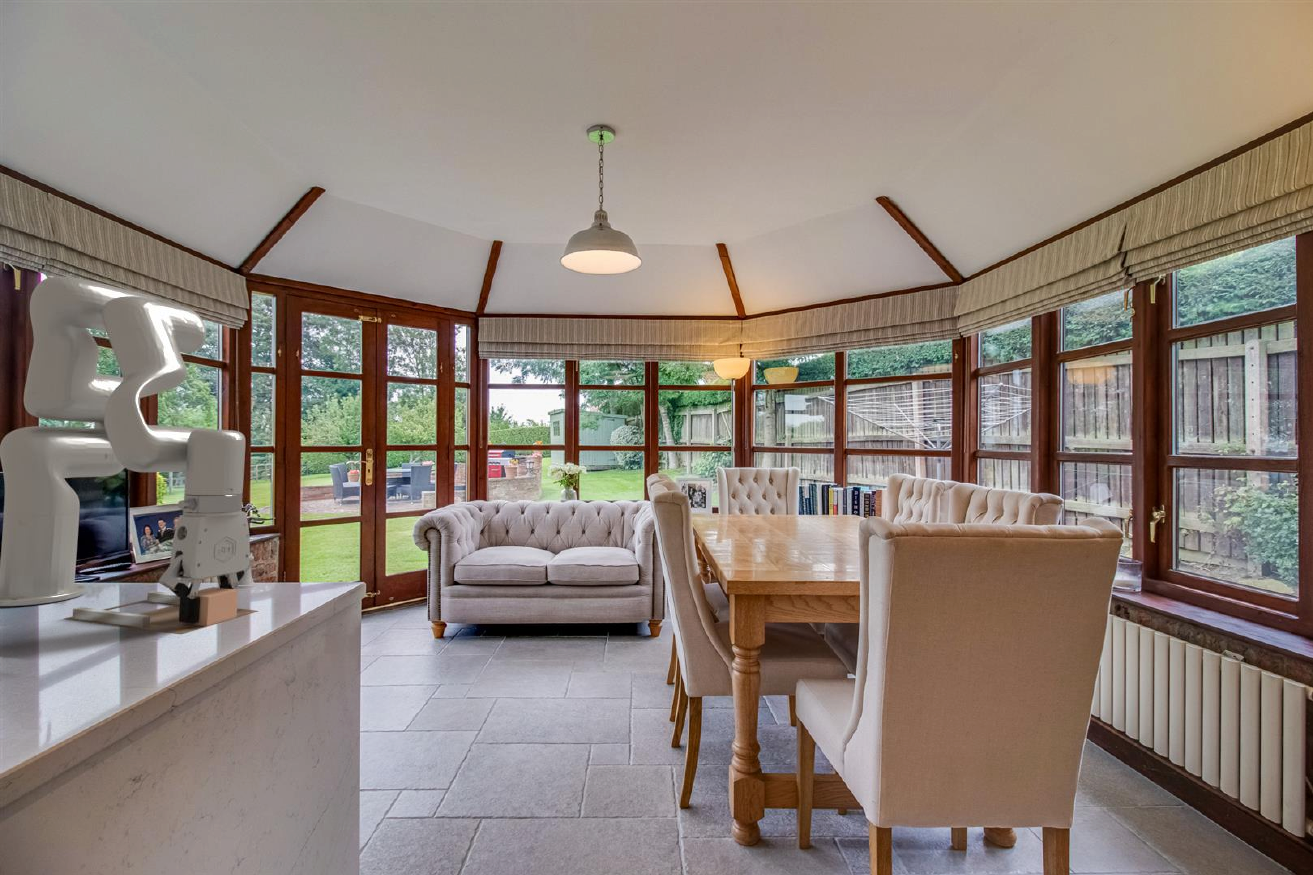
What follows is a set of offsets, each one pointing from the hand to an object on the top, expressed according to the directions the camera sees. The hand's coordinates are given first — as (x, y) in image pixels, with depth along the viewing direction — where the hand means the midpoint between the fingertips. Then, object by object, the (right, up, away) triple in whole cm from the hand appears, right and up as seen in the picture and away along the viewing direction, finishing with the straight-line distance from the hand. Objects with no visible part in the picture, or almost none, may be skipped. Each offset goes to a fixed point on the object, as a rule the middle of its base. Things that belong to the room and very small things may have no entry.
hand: (206, 616), depth 92 cm
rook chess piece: (-10, -2, +21) cm, 24 cm away
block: (+1, -1, 0) cm, 1 cm away
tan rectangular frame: (-8, -2, +2) cm, 9 cm away
